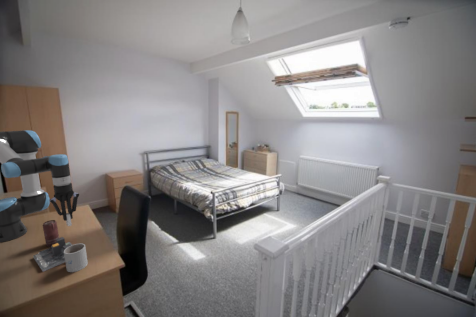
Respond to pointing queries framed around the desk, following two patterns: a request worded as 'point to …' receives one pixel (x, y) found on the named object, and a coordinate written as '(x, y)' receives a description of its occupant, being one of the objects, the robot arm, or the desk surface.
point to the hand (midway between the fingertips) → (69, 225)
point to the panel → (49, 258)
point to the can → (50, 232)
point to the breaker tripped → (56, 249)
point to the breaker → (61, 242)
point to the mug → (75, 257)
